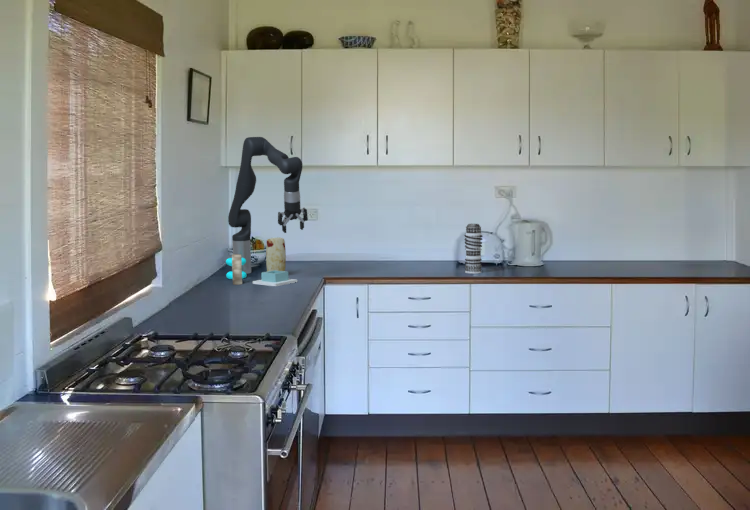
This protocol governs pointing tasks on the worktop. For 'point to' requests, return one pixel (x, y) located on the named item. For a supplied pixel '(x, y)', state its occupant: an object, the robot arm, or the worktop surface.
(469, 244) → the decorative candle
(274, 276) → the socket block
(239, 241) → the robot arm
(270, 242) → the food model
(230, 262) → the donuts
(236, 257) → the birch peg
